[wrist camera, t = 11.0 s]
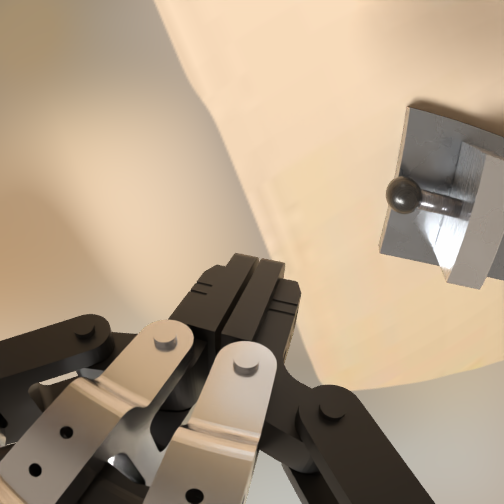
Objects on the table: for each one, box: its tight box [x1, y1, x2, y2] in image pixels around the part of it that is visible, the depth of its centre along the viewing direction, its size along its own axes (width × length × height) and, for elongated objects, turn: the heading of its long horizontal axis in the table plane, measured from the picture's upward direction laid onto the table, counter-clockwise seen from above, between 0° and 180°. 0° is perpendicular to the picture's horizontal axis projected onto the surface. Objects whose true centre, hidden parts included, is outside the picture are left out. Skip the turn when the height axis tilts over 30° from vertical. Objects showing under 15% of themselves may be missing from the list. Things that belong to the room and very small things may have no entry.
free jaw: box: [386, 141, 504, 289], centre depth 19 cm, size 9×9×5 cm
